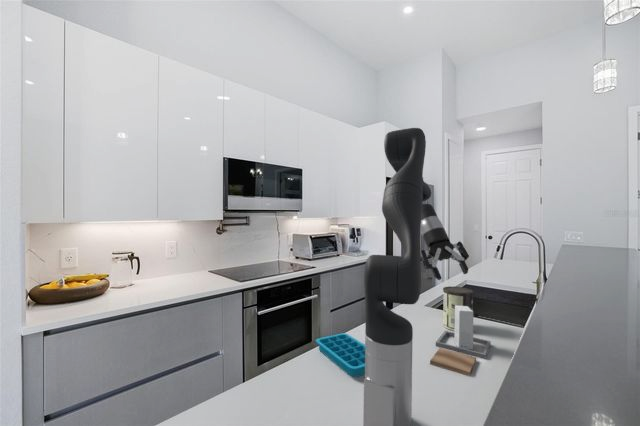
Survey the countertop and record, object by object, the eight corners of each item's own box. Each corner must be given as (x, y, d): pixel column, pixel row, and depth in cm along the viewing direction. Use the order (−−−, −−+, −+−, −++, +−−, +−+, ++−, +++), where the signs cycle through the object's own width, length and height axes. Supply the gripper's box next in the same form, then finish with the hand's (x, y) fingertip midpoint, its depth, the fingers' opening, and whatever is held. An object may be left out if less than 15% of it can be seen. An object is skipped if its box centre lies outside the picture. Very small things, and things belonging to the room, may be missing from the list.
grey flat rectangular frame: (485, 359, 86) (485, 355, 86) (435, 345, 94) (435, 342, 94) (490, 344, 95) (490, 341, 95) (445, 334, 103) (445, 330, 104)
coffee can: (467, 323, 115) (467, 286, 115) (477, 333, 104) (477, 293, 105) (439, 321, 116) (440, 285, 116) (446, 331, 106) (447, 292, 106)
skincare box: (473, 350, 91) (473, 311, 91) (458, 349, 92) (459, 310, 92) (467, 342, 97) (468, 305, 97) (453, 340, 98) (454, 304, 98)
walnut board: (469, 376, 76) (469, 372, 76) (430, 364, 82) (430, 360, 82) (476, 361, 84) (476, 357, 84) (439, 351, 90) (439, 347, 90)
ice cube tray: (345, 341, 97) (345, 332, 97) (387, 370, 79) (387, 359, 79) (314, 349, 91) (314, 339, 91) (352, 381, 74) (352, 369, 74)
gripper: (414, 232, 99) (433, 277, 90) (456, 222, 99) (478, 267, 90) (411, 241, 105) (428, 284, 97) (450, 232, 105) (471, 275, 97)
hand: (453, 276), depth 94 cm, fingers open, 8 cm apart
